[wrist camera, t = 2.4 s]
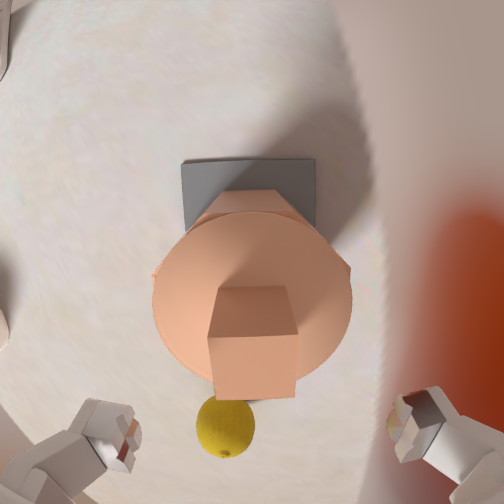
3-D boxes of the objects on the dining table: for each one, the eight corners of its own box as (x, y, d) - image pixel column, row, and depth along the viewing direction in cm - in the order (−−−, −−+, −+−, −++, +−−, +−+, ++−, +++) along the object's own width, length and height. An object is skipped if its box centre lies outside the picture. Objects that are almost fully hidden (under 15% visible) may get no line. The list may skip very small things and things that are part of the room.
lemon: (203, 374, 28) (192, 435, 20) (258, 382, 28) (261, 444, 20) (199, 409, 29) (190, 466, 22) (249, 416, 30) (249, 473, 22)
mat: (181, 164, 22) (180, 164, 21) (313, 159, 22) (314, 159, 21) (197, 326, 26) (196, 329, 25) (309, 322, 26) (310, 325, 25)
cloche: (185, 192, 22) (96, 244, 8) (312, 188, 22) (402, 233, 8) (196, 307, 25) (155, 441, 11) (309, 303, 25) (359, 434, 11)
